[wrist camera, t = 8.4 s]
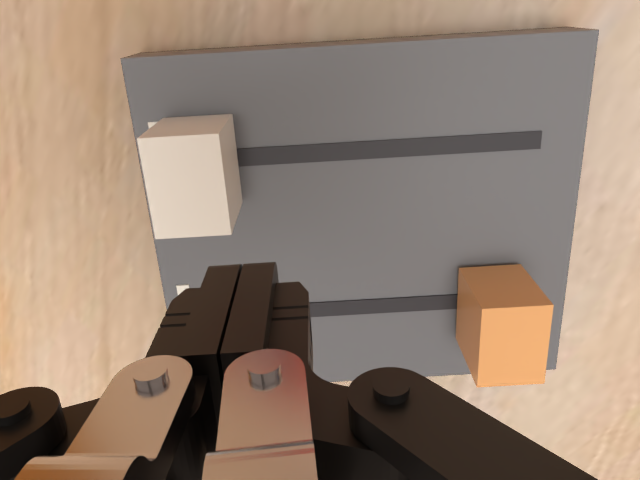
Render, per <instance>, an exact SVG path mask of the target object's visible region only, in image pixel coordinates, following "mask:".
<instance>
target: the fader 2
mask: <svg viewBox="0 0 640 480" xmlns="http://www.w3.org/2000/svg"><path fill="white" fill-rule="evenodd" d="M553 307H554V305H553V304H552V302H551V301H550V300H549V299H548V297H547V296H546V295H545V294H544V292H543V291H542V290H541V289H540V287H539V286H538V285H537V284H536V282H535V281H534V280H533V279H532V278H531V276H530V275H529V274H528V273H527V271H526V270H525V269H524V268H523V266H522V265H521V264H515V265H498V266H480V267H463V268H459V273H458V296H457V318H456V340H457V342H458V345H459V347H460V349H461V352H462V354H463V356H464V359H465V361H466V363H467V365H468V368H469V370H470V372H471V375H472V377H473V379H474V381H475V384H476V386H477V387H491V386H508V385H526V384H544V382H545V373H546V365H547V357H548V348H549V340H550V332H551V323H552V315H553Z"/></svg>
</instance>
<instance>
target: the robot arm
mask: <svg viewBox="0 0 640 480" xmlns="http://www.w3.org/2000/svg"><path fill="white" fill-rule="evenodd" d="M165 315H166V316H165V317H164V318H163V320H162V322H161V325H160V328H159V329H158V331H157V333H156V335H155V338H154V340H153V342H152V344H151V346H150V348H149V351H148V353H147V355H146V357H145V358H144V359H141V360H138V361H136V362H133V363H131V364H129V365H128V366H126V367H125V368H123V369H122V370H120V371H119V372H118V373H117V374H116V375H115V376H114V378H113V379H112V381H111V382H110V384H109V385H108V387H107V388H106V390H105V392H104V393H103V395H102V396H101V398H98V399H95V400H92V401H88V402H84V403H80V404H77V405H73V406H69V407H65V408H62V407H61V404H60V400H59V397H58V395H57V394H56V393H55V392H54V391H53V390H51V389H48V388H44V387H27V388H21V389H16V390H13V391H10V392H7V393H4V394H2V395H0V480H598V479H596V478H594V477H593V476H591V475H589V474H588V473H586V472H584V471H582V470H581V469H579V468H577V467H576V466H574V465H572V464H571V463H569V462H567V461H566V460H564V459H562V458H561V457H559V456H557V455H555V454H554V453H552V452H550V451H549V450H547V449H545V448H544V447H542V446H540V445H539V444H537V443H535V442H534V441H532V440H530V439H528V438H527V437H525V436H523V435H522V434H520V433H518V432H517V431H515V430H513V429H512V428H510V427H508V426H507V425H505V424H503V423H501V422H500V421H498V420H496V419H495V418H493V417H491V416H490V415H488V414H486V413H485V412H483V411H481V410H480V409H478V408H476V407H474V406H473V405H471V404H469V403H468V402H466V401H464V400H463V399H461V398H459V397H458V396H456V395H454V394H452V393H451V392H449V391H447V390H446V389H444V388H442V387H441V386H439V385H437V384H436V383H434V382H432V381H431V380H429V379H427V378H425V377H424V376H422V375H420V374H418V373H416V372H414V371H411V370H408V369H404V368H398V367H382V368H376V369H372V370H369V371H366V372H364V373H362V374H361V375H359V376H358V377H356V378H355V379H354V380H353V381H352V383H351V384H350V386H349V387H348V386H342V385H337V384H333V383H330V382H328V381H326V380H323V379H322V378H320V377H319V376H317V375H316V374H315V373H314V372H313V342H312V329H311V316H310V304H309V292H308V291H307V290H306V289H305V287H304V286H303V285H302V284H301V283H300V282H283V283H279V280H278V270H277V265H276V262H264V263H248V264H243V266H242V264H233V265H217V266H209V267H208V269H207V271H206V274H205V277H204V279H203V282H202V284H201V287H200V288H186V289H185V290H184V291H183V292H181V293H180V294H179V295H178V296H177V297H175V298H174V299H173V300H172V301H171V303H170V305H169V307H168V309H167V312H166V314H165Z"/></svg>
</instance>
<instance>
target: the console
mask: <svg viewBox="0 0 640 480" xmlns="http://www.w3.org/2000/svg"><path fill="white" fill-rule="evenodd" d="M598 34H599V30H596V29H585V28H574V27H560V28H543V29H527V30H510V31H493V32H477V33H460V34H444V35H427V36H410V37H394V38H377V39H360V40H344V41H327V42H311V43H294V44H277V45H261V46H244V47H228V48H211V49H194V50H178V51H161V52H145V53H138V54H134V55H131V56H128V57H124V58H121V64H122V70H123V75H124V80H125V86H126V91H127V97H128V102H129V107H130V113H131V118H132V124H133V129H134V135H135V140H136V145H137V151H138V156H139V162H140V167H141V172H142V178H143V183H144V189H145V194H146V199H147V205H148V210H149V216H150V221H151V227H152V232H153V237H154V243H155V248H156V254H157V259H158V264H159V270H160V275H161V281H162V286H163V292H164V297H165V302H166V308H167V309H168V307H169V305H170V303H171V301H172V300H173V299H174V298H175V297H177V296H178V295H179V294H180V293H181V292H183V291H184V290H185V289H186V288H200V287H201V284H202V282H203V279H204V277H205V274H206V271H207V269H208V267H209V266H217V265H233V264H242V266H243V264H248V263H264V262H276V265H277V270H278V280H279V283H283V282H300V283H301V284H302V285H303V286H304V287H305V289H306V290H307V291H308V292H309V304H310V316H311V329H312V342H313V372H314V373H315V374H316V375H317V376H319V377H320V378H322V379H323V380H326V381H328V382H338V381H353V380H354V379H355V378H356V377H358V376H359V375H361V374H362V373H364V372H366V371H369V370H372V369H376V368H382V367H398V368H404V369H408V370H411V371H414V372H416V373H418V374H420V375H422V376H424V377H426V376H444V375H462V374H471V372H470V370H469V368H468V365H467V363H466V361H465V359H464V356H463V354H462V352H461V349H460V347H459V345H458V342H457V340H456V318H457V296H458V273H459V268H463V267H480V266H498V265H515V264H521V265H522V266H523V268H524V269H525V270H526V271H527V273H528V274H529V275H530V276H531V278H532V279H533V280H534V281H535V282H536V284H537V285H538V286H539V287H540V289H541V290H542V291H543V292H544V294H545V295H546V296H547V297H548V299H549V300H550V301H551V302H552V304H553V305H554V307H553V315H552V323H551V332H550V340H549V348H548V357H547V365H546V370H550V369H556V362H557V355H558V347H559V339H560V331H561V323H562V315H563V308H564V300H565V292H566V284H567V276H568V268H569V261H570V253H571V245H572V237H573V229H574V222H575V214H576V206H577V198H578V190H579V182H580V175H581V167H582V159H583V151H584V143H585V135H586V128H587V120H588V112H589V104H590V96H591V89H592V81H593V73H594V65H595V57H596V49H597V42H598ZM220 114H233V123H234V132H235V140H236V149H237V158H238V166H239V175H240V184H241V192H242V201H243V202H242V205H241V208H240V211H239V214H238V217H237V220H236V223H235V226H234V229H233V232H232V235H221V236H203V237H186V238H169V239H155V235H154V230H153V224H152V219H151V213H150V208H149V203H148V197H147V192H146V186H145V181H144V175H143V170H142V164H141V159H140V154H139V148H138V143H137V138H138V137H139V136H141V135H142V134H143V133H144V132H146V131H147V130H148V129H149V128H151V127H152V126H153V125H155V124H156V123H157V122H158V121H160V120H161V119H162V118H170V117H186V116H203V115H220Z"/></svg>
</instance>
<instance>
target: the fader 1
mask: <svg viewBox="0 0 640 480" xmlns="http://www.w3.org/2000/svg"><path fill="white" fill-rule="evenodd" d="M137 143H138V148H139V154H140V159H141V164H142V170H143V175H144V181H145V186H146V192H147V197H148V203H149V208H150V213H151V219H152V224H153V230H154V235H155V239H169V238H186V237H203V236H221V235H232V232H233V229H234V226H235V223H236V220H237V217H238V214H239V211H240V208H241V205H242V202H243V201H242V192H241V184H240V175H239V166H238V158H237V149H236V140H235V132H234V123H233V114H220V115H203V116H186V117H170V118H162V119H161V120H160V121H158V122H157V123H156V124H155V125H153V126H152V127H151V128H149V129H148V130H147V131H146V132H144V133H143V134H142V135H141V136H139V137H138V138H137Z"/></svg>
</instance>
